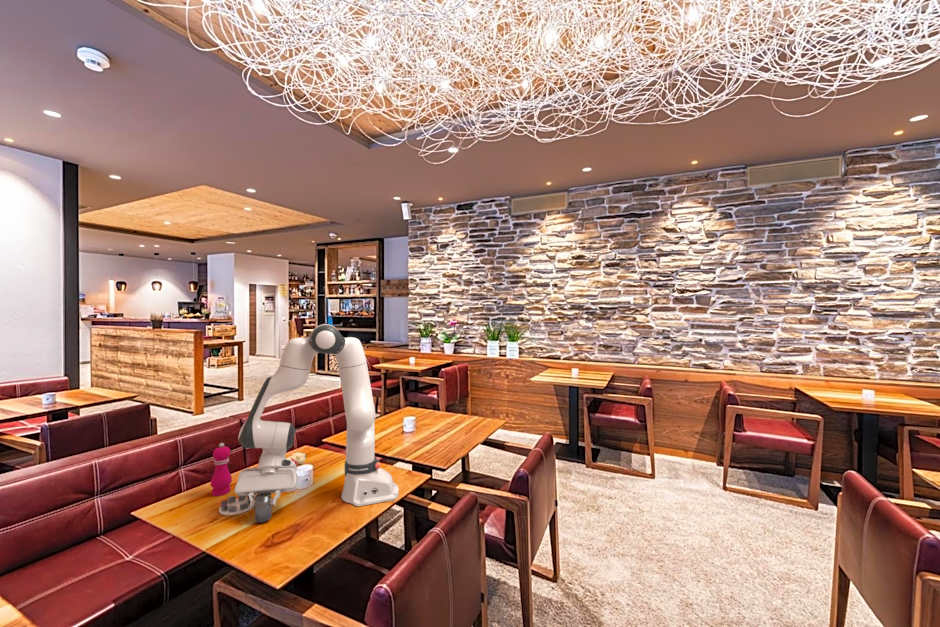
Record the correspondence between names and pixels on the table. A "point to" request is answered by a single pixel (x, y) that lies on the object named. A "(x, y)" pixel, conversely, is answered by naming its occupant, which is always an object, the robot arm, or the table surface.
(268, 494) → the sleeve nut
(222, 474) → the pepper mill
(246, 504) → the castellated coaster
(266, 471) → the robot arm
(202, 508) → the table surface
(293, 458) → the cream dog bone
